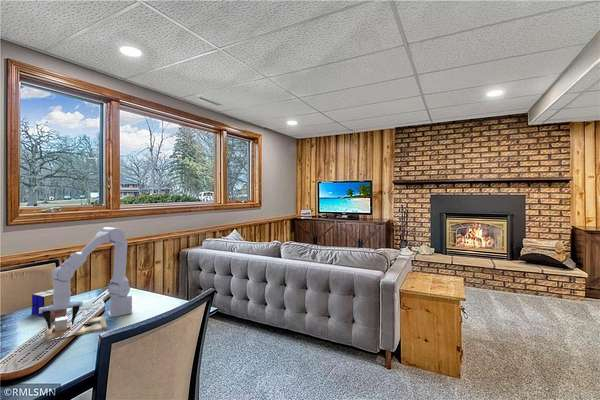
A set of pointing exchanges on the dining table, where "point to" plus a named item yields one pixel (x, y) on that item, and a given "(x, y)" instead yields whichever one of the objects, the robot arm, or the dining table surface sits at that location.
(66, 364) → the dining table surface
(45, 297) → the puzzle cube
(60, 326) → the steel peg
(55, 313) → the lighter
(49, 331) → the rail
